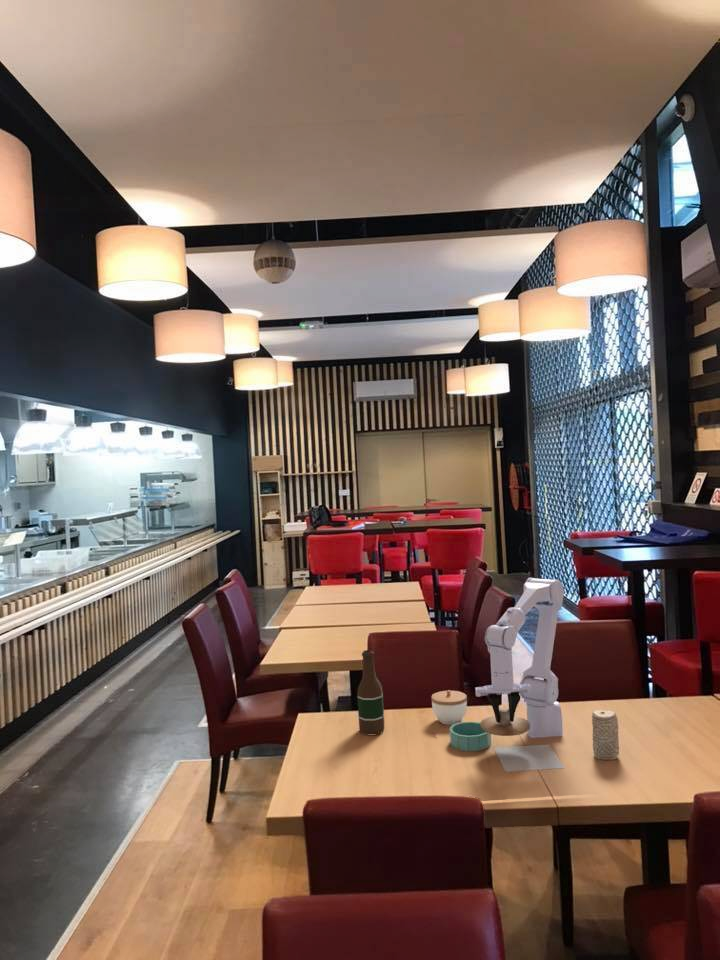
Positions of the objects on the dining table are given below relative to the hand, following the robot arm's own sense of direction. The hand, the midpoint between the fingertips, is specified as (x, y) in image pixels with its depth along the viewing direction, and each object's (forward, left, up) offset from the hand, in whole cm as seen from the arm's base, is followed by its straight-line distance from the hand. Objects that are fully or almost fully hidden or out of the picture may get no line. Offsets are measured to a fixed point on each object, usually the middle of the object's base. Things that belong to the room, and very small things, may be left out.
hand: (504, 720), depth 190 cm
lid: (0, 0, -2) cm, 2 cm away
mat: (-5, +4, -9) cm, 11 cm away
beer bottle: (+35, -23, -9) cm, 43 cm away
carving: (-25, +6, -9) cm, 27 cm away
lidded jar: (+11, -27, -9) cm, 30 cm away
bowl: (+8, -8, -9) cm, 14 cm away
